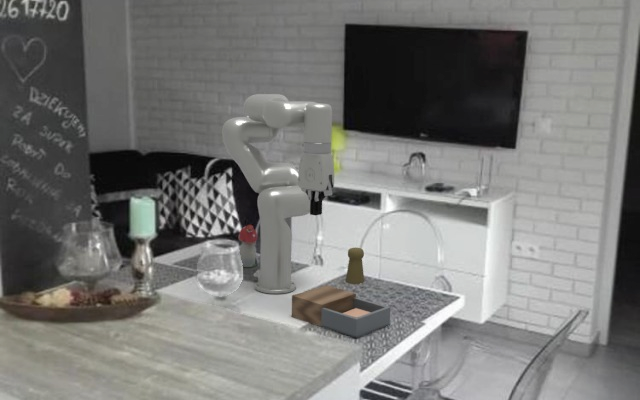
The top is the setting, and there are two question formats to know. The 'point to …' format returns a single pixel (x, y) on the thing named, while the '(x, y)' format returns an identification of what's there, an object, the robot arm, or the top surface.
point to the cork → (355, 266)
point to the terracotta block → (356, 312)
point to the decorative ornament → (248, 246)
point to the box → (357, 319)
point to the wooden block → (320, 303)
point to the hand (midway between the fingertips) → (315, 214)
